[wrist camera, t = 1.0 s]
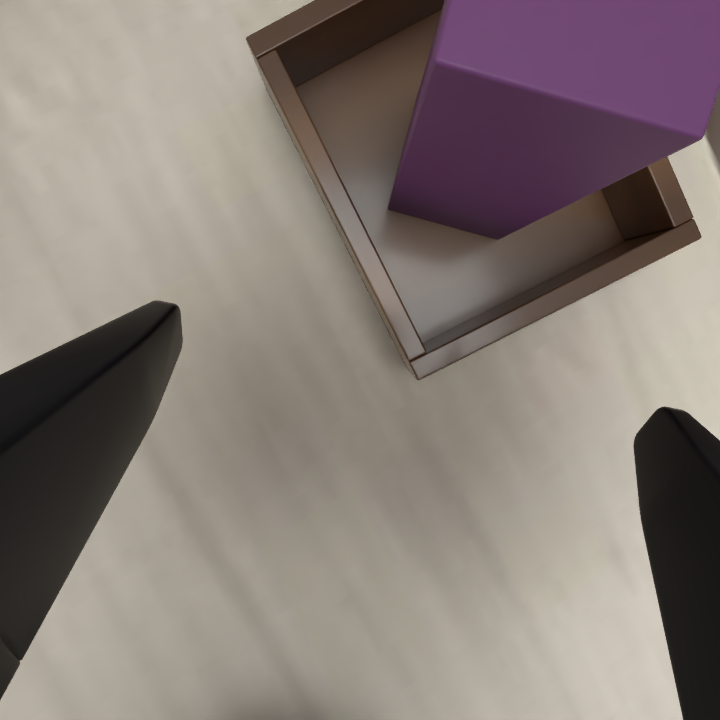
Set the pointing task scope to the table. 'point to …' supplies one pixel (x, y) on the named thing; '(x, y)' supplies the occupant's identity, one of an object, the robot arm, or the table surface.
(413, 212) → the block
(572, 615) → the table surface
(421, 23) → the wooden tray
